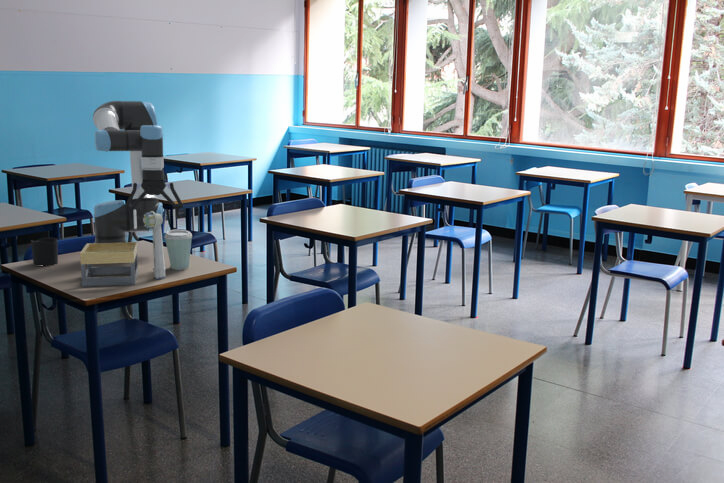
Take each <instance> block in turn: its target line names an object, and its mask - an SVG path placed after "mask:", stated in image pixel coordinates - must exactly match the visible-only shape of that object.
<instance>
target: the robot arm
mask: <svg viewBox="0 0 724 483" xmlns="http://www.w3.org/2000/svg"><path fill="white" fill-rule="evenodd" d="M92 120H93V124H94V126H95V127H96V128H97V130H95V131H94V143H95V144H94V145H95V150H96V151H97V152H129V161H130V176H131V188H132V189H131V192H130V195H129V196H128V198H127V201H126V203H125V202H124V200H122V199H119V200H109V201H102V202H100V203H97V204H95V205H94V207H93V219H94V221H93V222H94V243H123V242H128V241H127V238H126V233H130V232H131V233H134V232H151V231H152V232H153V229H151V228H146V227H145V226H144V225H145V223H144V222H143V218H144V214H145V213H149V212H150V211H153V212H155V214H161V215H162V216H163V208H164V207H163V203H162V202H160V201H159V197H157V196H160V195H161V196H162V197H163V198H164V199H166V200H167V202H168V203H169V204H170V205H171V206H172V207H173V209H172V216H173V217H172V219H173V221H172V222H173V229H176V228H177V225H176V224H177V223H176V219H179V218H180V216H179V215H180V214H179V213H180V212H179V210H180V209H183V208H184V204H183V202H182V200H181V198H180V196H179V194H178V192H177V191H176V189H175V187H174V186H175V185H174V182H172V181H171V182H165V170H164V167H165V163H164V158H165V157H164V146H163V145H164V132H163V127H162V126H161V125H158V119H157V113H156V110H155V107H154V105H153V103H152V102H149V101H142V100H140V101H139V100H138V101H137V100H136V101H135V100H134V101H133V100H132V101H131V100H130V101H126V100H121V101H120V100H112V101H108V102H105V103H102V104H100V105H99V106H98V107H97V108H96V109H95V110H94V111H93V114H92ZM166 188H167V189H168V190H170V192H171V194H172V195H173V196H174V199H175V200H176V202H177V203H178V204H176V202H175V201H174V200H173V199H172V198H171V197H170V196H169V195H168V194H167V192H166V191H165V189H166Z"/></svg>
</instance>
